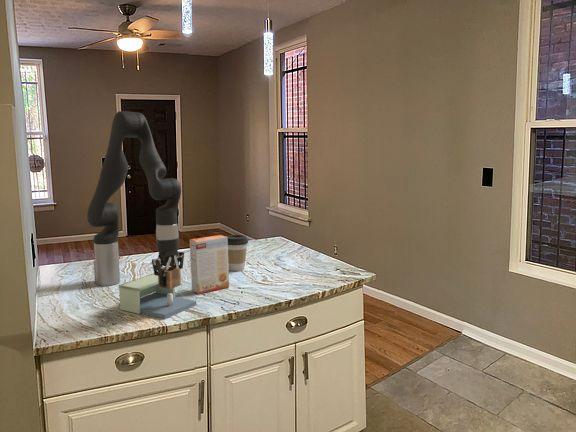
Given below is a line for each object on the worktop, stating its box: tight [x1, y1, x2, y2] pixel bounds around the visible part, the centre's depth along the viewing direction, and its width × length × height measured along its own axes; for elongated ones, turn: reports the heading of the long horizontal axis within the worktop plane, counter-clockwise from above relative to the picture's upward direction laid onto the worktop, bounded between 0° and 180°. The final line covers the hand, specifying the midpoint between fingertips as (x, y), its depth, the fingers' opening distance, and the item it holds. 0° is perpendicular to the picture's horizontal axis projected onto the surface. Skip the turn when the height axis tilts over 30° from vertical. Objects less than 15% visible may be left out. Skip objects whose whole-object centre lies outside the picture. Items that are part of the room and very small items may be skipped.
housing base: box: [140, 292, 197, 320], centre depth 180 cm, size 20×16×6 cm
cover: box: [118, 272, 176, 314], centre depth 182 cm, size 9×18×9 cm, turn 150°
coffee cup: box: [226, 234, 249, 272], centre depth 228 cm, size 11×11×15 cm
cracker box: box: [189, 234, 230, 295], centre depth 198 cm, size 14×6×21 cm, turn 127°
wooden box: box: [158, 266, 182, 289], centre depth 176 cm, size 5×5×6 cm
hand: (169, 284), depth 176 cm, fingers closed on wooden box, 5 cm apart
